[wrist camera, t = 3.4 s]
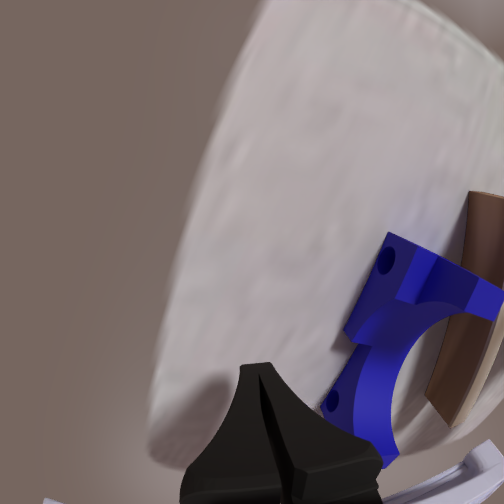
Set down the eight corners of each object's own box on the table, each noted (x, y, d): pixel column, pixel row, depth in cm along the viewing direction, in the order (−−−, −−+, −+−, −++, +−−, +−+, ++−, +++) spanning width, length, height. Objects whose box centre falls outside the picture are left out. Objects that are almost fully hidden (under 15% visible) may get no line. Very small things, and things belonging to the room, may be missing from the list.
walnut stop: (483, 192, 15) (532, 204, 10) (438, 389, 19) (464, 421, 15) (468, 190, 14) (519, 202, 10) (424, 395, 19) (450, 428, 15)
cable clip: (386, 230, 15) (460, 267, 9) (438, 255, 16) (507, 293, 10) (299, 402, 18) (323, 473, 12) (354, 407, 18) (385, 468, 13)
